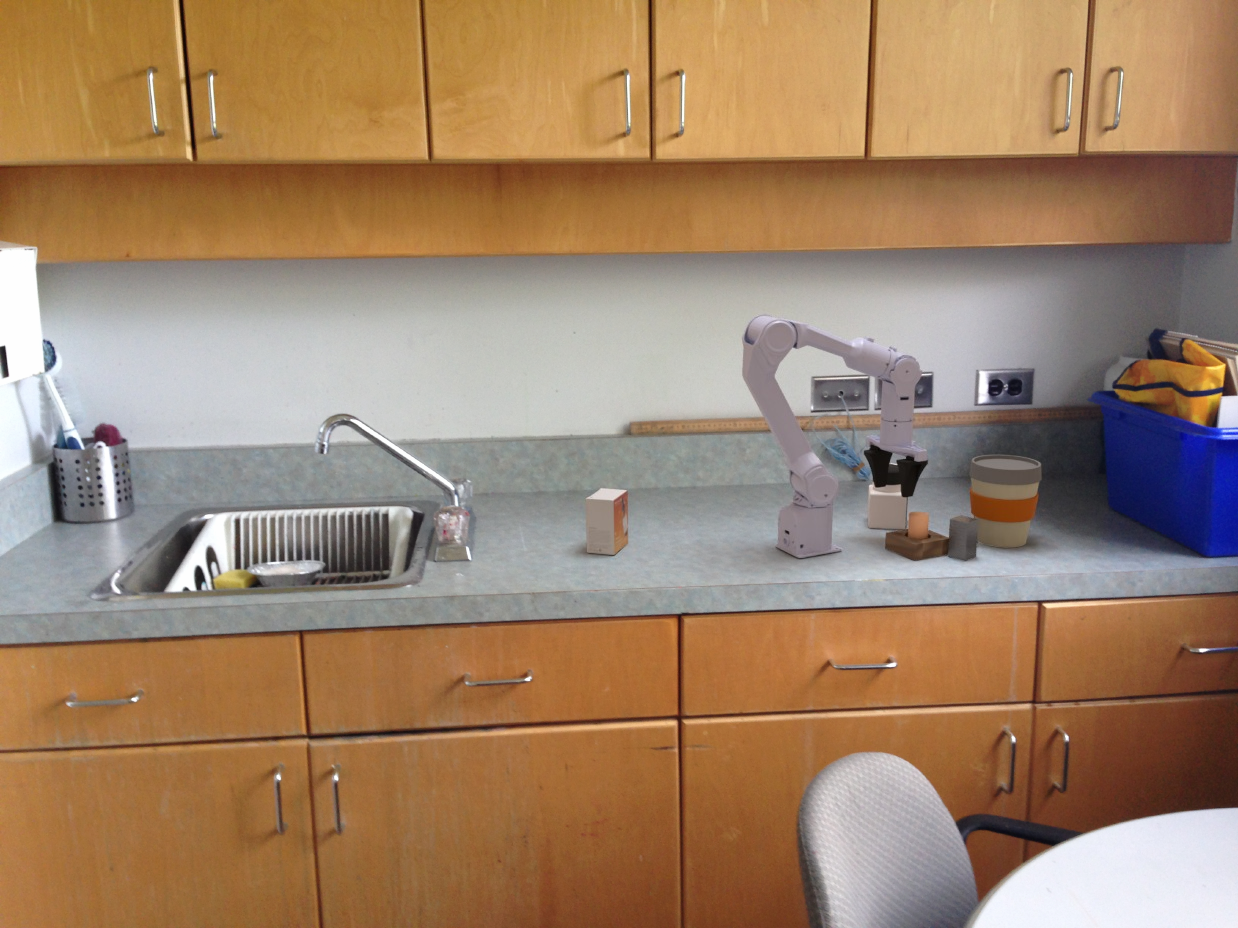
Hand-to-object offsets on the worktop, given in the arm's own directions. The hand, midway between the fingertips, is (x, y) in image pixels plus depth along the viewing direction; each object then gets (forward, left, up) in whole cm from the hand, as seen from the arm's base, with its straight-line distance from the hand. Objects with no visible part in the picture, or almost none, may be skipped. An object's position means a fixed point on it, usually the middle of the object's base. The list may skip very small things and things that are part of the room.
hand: (893, 491), depth 190 cm
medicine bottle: (+7, +10, -10) cm, 16 cm away
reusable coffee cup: (+19, -8, -10) cm, 23 cm away
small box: (-48, +22, -10) cm, 54 cm away
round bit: (+1, -6, -10) cm, 12 cm away
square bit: (+6, -12, -10) cm, 17 cm away
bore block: (+1, -6, -10) cm, 12 cm away
